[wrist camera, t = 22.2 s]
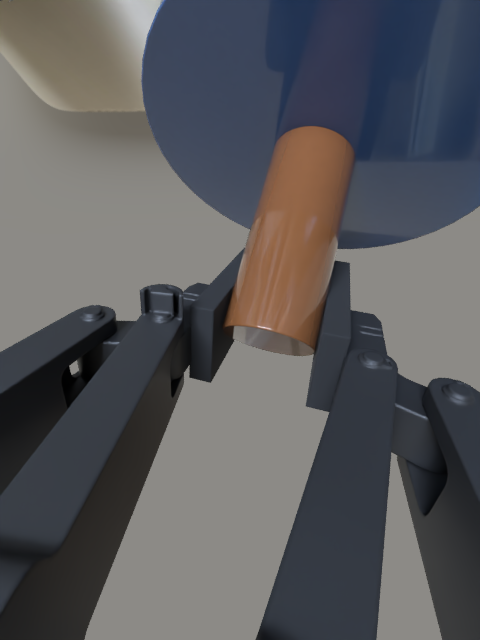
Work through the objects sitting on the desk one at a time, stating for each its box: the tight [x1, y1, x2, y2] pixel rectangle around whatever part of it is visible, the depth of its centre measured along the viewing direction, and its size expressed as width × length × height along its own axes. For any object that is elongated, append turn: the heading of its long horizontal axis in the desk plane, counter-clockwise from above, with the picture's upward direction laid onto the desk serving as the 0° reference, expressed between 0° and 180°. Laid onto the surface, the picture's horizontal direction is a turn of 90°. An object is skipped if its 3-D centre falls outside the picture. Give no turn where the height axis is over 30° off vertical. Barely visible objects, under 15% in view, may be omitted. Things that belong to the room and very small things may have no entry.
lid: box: [141, 0, 480, 356], centre depth 12 cm, size 14×14×9 cm
